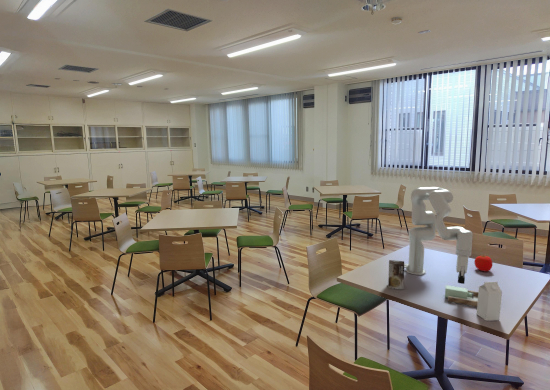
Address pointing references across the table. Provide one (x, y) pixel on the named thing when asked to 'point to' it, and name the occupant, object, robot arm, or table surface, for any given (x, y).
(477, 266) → the tomato
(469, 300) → the brown white flat box
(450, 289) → the bottle
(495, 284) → the milk carton
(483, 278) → the table surface
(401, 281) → the coffee box
